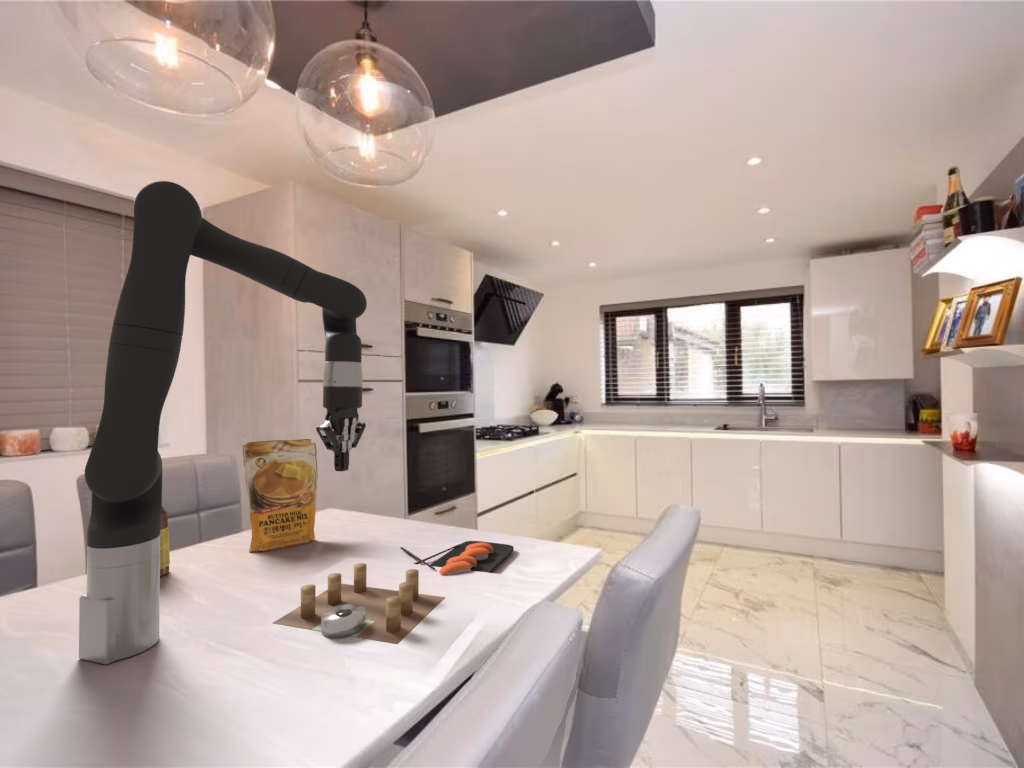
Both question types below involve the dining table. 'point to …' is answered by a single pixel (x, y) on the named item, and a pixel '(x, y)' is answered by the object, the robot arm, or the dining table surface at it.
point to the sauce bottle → (164, 544)
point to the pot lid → (343, 621)
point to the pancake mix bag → (281, 492)
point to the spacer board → (366, 605)
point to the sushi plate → (469, 557)
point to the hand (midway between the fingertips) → (341, 470)
